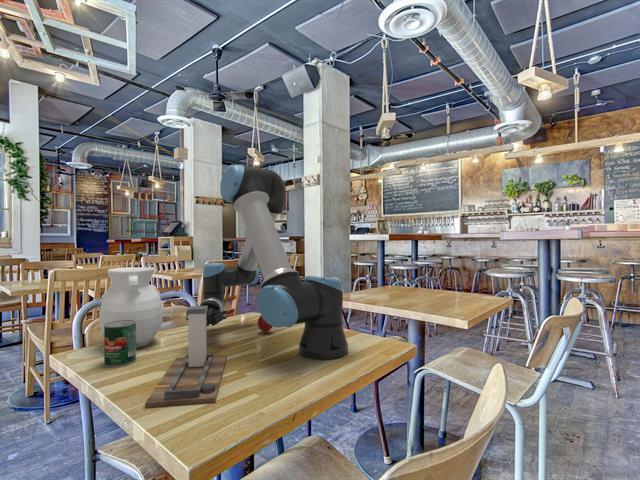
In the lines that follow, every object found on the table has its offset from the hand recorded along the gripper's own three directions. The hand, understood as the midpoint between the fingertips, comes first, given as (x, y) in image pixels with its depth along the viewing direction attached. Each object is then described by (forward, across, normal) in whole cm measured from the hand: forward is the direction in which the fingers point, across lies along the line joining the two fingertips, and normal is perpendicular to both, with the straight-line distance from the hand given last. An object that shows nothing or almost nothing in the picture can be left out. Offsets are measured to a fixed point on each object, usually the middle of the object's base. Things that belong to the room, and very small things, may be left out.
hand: (198, 327), depth 99 cm
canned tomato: (-5, +22, -10) cm, 25 cm away
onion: (-29, -19, -10) cm, 36 cm away
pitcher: (-21, +24, -10) cm, 34 cm away
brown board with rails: (+11, -1, -10) cm, 15 cm away
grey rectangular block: (+4, -1, -9) cm, 10 cm away
